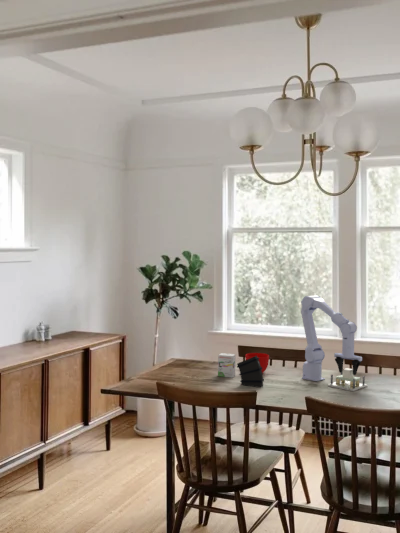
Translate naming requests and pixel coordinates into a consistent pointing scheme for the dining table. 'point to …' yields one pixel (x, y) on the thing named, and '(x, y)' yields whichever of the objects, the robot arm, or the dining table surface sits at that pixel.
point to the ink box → (226, 365)
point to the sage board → (348, 375)
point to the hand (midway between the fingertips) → (347, 373)
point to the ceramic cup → (260, 359)
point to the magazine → (251, 372)
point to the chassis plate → (347, 384)
